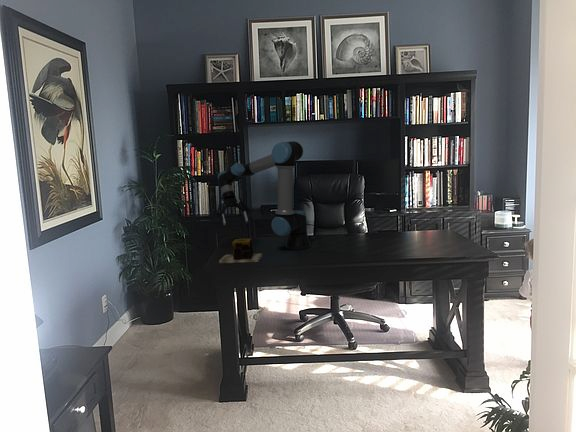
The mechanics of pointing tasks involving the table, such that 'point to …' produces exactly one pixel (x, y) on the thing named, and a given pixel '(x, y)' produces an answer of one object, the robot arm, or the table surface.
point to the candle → (242, 249)
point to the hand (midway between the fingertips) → (236, 222)
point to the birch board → (230, 259)
